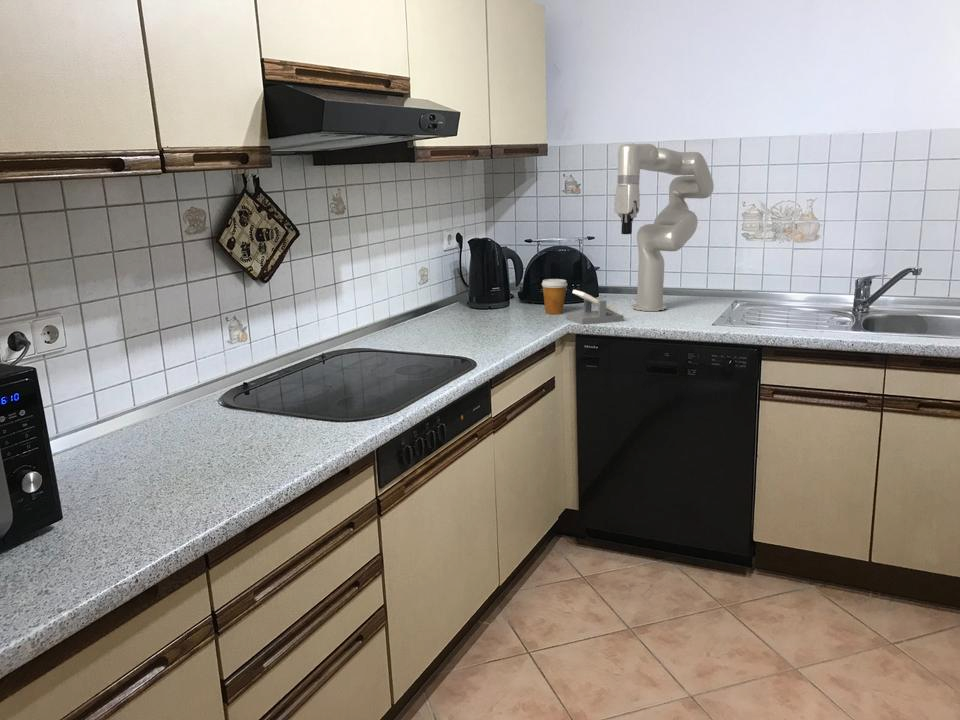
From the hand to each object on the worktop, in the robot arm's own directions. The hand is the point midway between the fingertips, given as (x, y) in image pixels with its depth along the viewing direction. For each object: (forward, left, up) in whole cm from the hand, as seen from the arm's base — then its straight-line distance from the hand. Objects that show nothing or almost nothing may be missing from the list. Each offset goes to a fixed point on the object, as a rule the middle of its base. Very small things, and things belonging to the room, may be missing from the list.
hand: (626, 234), depth 276 cm
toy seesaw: (+4, -14, -29) cm, 33 cm away
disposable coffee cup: (-14, -21, -29) cm, 39 cm away
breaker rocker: (+4, -14, -23) cm, 27 cm away
